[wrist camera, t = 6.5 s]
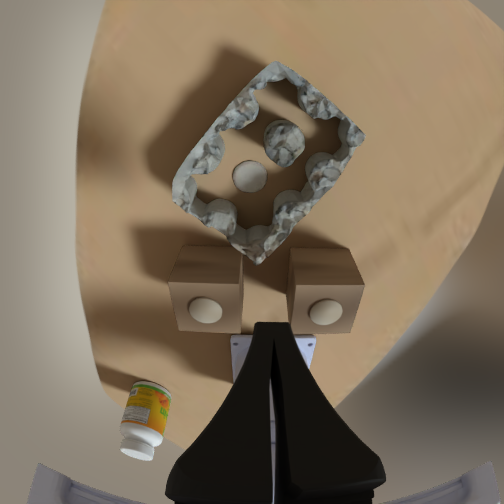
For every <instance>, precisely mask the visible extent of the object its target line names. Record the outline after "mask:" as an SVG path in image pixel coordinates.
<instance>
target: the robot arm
mask: <svg viewBox="0 0 504 504" xmlns="http://www.w3.org/2000/svg"><path fill="white" fill-rule="evenodd" d="M230 342H231V356H232V369H233V382H234V384H233V386H232V388H231V390H230V392H229V393H228V395H227V397H226V399H225V400H224V402H223V403H222V405H221V407H220V408H219V410H218V411H217V413H216V414H215V416H214V417H213V418H212V420H211V421H210V423H209V424H208V425H207V426H206V428H205V429H204V430H203V431H202V433H201V434H200V435H199V436H198V438H197V439H196V440H195V441H194V442H193V443H192V445H191V446H190V447H189V448H188V449H187V450H186V451H185V452H184V453H183V454H182V455H181V456H180V457H179V458H178V459H177V461H176V462H175V464H174V466H173V468H172V470H171V472H170V474H169V477H168V480H167V484H166V491H165V495H166V496H167V497H168V498H169V499H171V500H173V501H174V502H175V504H372V498H373V497H374V491H373V489H375V488H377V487H378V486H380V485H382V484H383V483H384V482H385V481H386V474H385V471H384V467H383V464H382V462H381V460H380V458H379V456H377V454H375V453H374V452H373V451H372V450H371V449H370V448H369V447H368V446H366V444H364V443H363V442H362V441H361V440H360V439H359V438H358V436H357V435H356V434H355V433H354V432H353V431H352V430H351V429H350V428H349V427H348V425H347V424H346V423H345V422H344V421H343V420H342V419H341V417H340V416H339V415H338V414H337V412H336V411H335V410H334V408H333V407H332V406H331V404H330V403H329V401H328V400H327V399H326V397H325V396H324V394H323V393H322V391H321V389H320V388H319V386H318V385H317V383H316V381H315V379H314V378H313V376H312V374H311V372H310V370H309V367H310V364H311V360H312V356H313V352H314V348H315V344H316V337H315V336H313V335H293V332H292V328H291V324H289V323H288V322H257V323H255V325H254V332H253V335H232V336H231V339H230ZM309 343H310V344H309ZM500 502H501V500H500V495H499V490H498V485H497V481H496V477H495V473H494V469H493V465H492V461H488V462H486V463H484V464H482V465H480V466H478V467H476V468H474V469H472V470H470V471H468V472H466V473H465V474H463V475H462V476H460V477H458V478H456V479H453V480H451V481H448V482H446V483H443V484H441V485H438V486H436V487H433V488H430V489H427V490H425V491H422V492H419V493H416V494H413V495H409V496H407V497H403V498H400V499H396V500H392V501H389V502H385V503H380V504H499V503H500ZM27 504H145V503H141V502H137V501H133V500H130V499H126V498H123V497H119V496H116V495H112V494H110V493H106V492H103V491H101V490H97V489H95V488H92V487H89V486H87V485H84V484H81V483H79V482H76V481H74V480H71V479H70V478H69V477H67V476H65V475H63V474H61V473H59V472H57V471H55V470H53V469H51V468H49V467H47V466H44V465H43V464H41V463H38V465H37V468H36V472H35V475H34V478H33V482H32V485H31V489H30V493H29V497H28V501H27Z"/></svg>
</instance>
